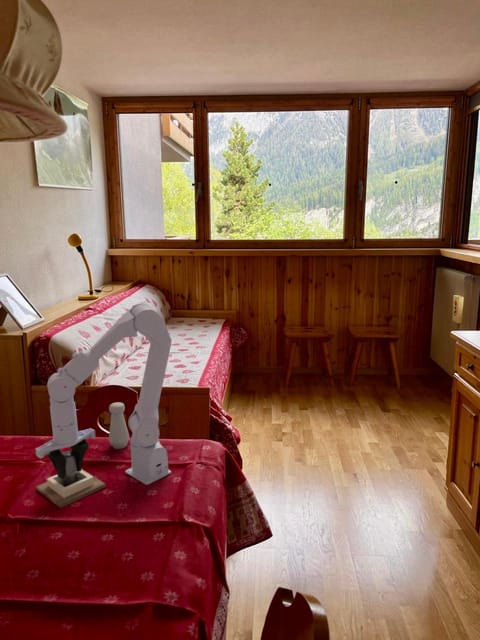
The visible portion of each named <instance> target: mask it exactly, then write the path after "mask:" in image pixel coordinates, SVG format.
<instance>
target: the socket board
mask: <svg viewBox="0 0 480 640" xmlns="http://www.w3.org/2000/svg"><path fill="white" fill-rule="evenodd" d="M78 480H79V481H78V482H76V483H73V484H71V485H69V486H67V487H64V486H63V485H62V483H61V478H59V477H58V475H57V474H55V475H53V476H50V477H48V478H46V481H45V482H43V483H42V484H39V485H36V490H37V491H38V492H39V493H40V494H42V495H43V496H44V497H46V498H47V499H48V500H50V501H51V502H52V503H53V504H54V505H56V506H58V508H60V509H63V508H64V507H67V506H69V505H71V504H72V503H75V502H77V501H79V500H81V499H82V498H85V497H88V496H89V495H92V494H93V493H96V492H98V491H100V490H103V488H106V483H105V482H103V481H102V480H101V479H98V477H96V476H94V475H92V474H91V473H89V472H87V471H86V470H85V469H83V468H81V471H78Z"/></svg>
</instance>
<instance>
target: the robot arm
mask: <svg viewBox="0 0 480 640" xmlns="http://www.w3.org/2000/svg"><path fill="white" fill-rule="evenodd" d="M137 332H138V333H139V334H141V335H142V336H144V337H145V338H146V339H147V341H148V342H149V349H148V353H147V359H146V364H145V369H144V373H143V379H142V381H141V382H142V383H141V387H140V388H141V389H140V394H139V398H138V402H137V403H136V404H135V406H134V410H133V412H132V414H131V415H130V416H129V418H128V423H127V424H128V428H129V430H130V431H131V432H132V434H131V437H130V438H129V445H130V458H131V467H129V468H128V469H126V470H124V472H125V474H127V475H129V476H130V477H132V478H135V480H138V481H140V482H141V483H143V484H144V485H150V484H152V483H154V482H156V481H158V480H160V479H162V478H164V477H165V476H167V475H171V473H172V471H171V470H170V469H169V461H168V459H169V458H168V451H167V449H166V448H165V447H164V446H163V445H162V444H161V442H160V439H159V438H160V429H159V419H160V417H159V416H160V415H159V404H160V401H161V400H160V399H161V393H162V389H163V385H164V379H165V374H166V371H167V366H168V361H169V356H170V351H171V347H172V338H171V335H170V333H169V330H168V328H167V325H166V321H165V319H164V318H163V317H162V316H161V315H160V314H159V312H157V311H156V310H154V309H153V308H152V307H151V306H150V305H149V304H146V303H142V302H141V303H140V302H139V303H137V304H134V305H133V306H132V307H131V308H130V309H129V310H127V311H126V312H124V313H123V314H122V315H121V316H120V318H119V319H118V320H116V322H115V323H114V324H113V325H112V326H111V327H110V328H109V329H108V330H107V331H106V332H105V333H104V334H103V335H102V336H101V337H100V338H99V339H98V340H97V341H96V343H94V344H93V345H92V346H91V348H90V349H81V350H80V351H79V352H77V351H75V352H74V353H73V354H71V355H72V358H71V360H69V361H67V363H66V364H65V365H64V366H63V367H59V368H58V369H57V372H54V373H53V374H51V375H50V377H49V378H48V381H47V383H46V387H47V391H48V392H47V393H48V395H49V403H50V405H49V411H50V420H51V427H52V428H51V429H52V437H53V439H51V440H49V441H47V442H45V443H43V444H42V445H40V446H38V447H36V448H35V455H36V457H38V458H39V459H42V458H45V456H47V458H48V459H49V461H50V462H51V464H52V465H53V468H54V470H55V472H56V475H58V477H59V478H61V479H63V478H64V477H65V474H64V455H63V454H61V453H62V451H60V450H63V449H66V448H70V449H71V451H74V452H76V460H77V470H78V471H81V469H83V462H84V458H85V455H86V453H87V450H88V449H89V442H87V441H86V440H88V439H94V438H96V430H95V429H93V428H91V427H90V428H87V429H84V430H83V429H82V430H79V428H78V418H77V416H78V415H77V410H76V401H74V399H75V398H74V396H75V394H76V388H77V387H79V386H81V384H83V382H85V380H87V379H88V378H89V377H90V376H91V375H92V374H93V373H94V372H95V371H96V370H97V369H98V368H99V366H100V359H102V357H104V356H105V355H106V354H107V353H108V352H110V351H111V350H112V349H113V348H114V347H116V346H117V344H119V343H120V342H121V341H122V340H123V339H126V338H135V337H138V334H137Z"/></svg>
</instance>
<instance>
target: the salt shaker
mask: <svg viewBox="0 0 480 640" xmlns="http://www.w3.org/2000/svg"><path fill="white" fill-rule="evenodd" d="M108 410H109V413H110V414H111V415H110V426H109V434H108V441H109V443H110V445H111V447H112V446H113V447H112V448H113V449H115V450H120V449H121V450H122V449H124V448H126V447H127V446H128V443H129V442H130V434H129V430H128V427H127V424H126V420H125V416H124V412H125V410H126V408H125V403H123V402H119V401H117V402H112V403H111V404H110V405H109V407H108ZM125 446H126V447H125Z"/></svg>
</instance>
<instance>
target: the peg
mask: <svg viewBox="0 0 480 640" xmlns="http://www.w3.org/2000/svg"><path fill="white" fill-rule="evenodd" d="M61 454H63V455H64V474H65V477H64V478H63V479H61V483H62V485H63V486H64V487H67V486H69V485H71V484H73V483H76V482H78V481H79V480H78V470H77V460H76V452H74V451H72V450H65V451H61Z"/></svg>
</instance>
